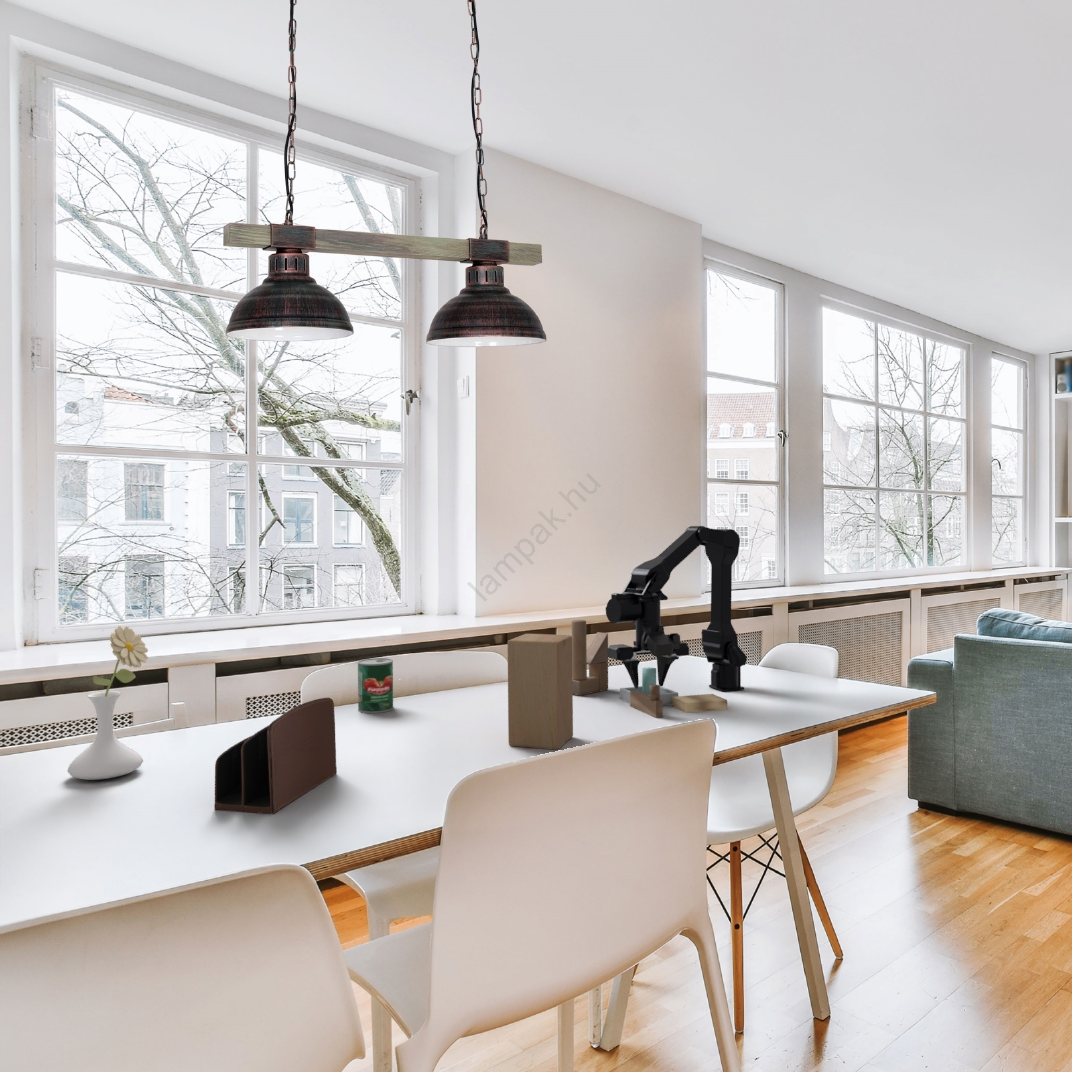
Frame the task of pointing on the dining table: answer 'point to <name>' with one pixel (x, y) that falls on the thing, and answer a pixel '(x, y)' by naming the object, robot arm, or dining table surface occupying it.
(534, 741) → the wooden block
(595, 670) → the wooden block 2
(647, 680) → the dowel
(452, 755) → the dining table surface
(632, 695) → the rail
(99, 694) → the flower in vase
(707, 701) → the board
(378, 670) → the canned tomato
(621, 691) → the tray
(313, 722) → the letter holder
